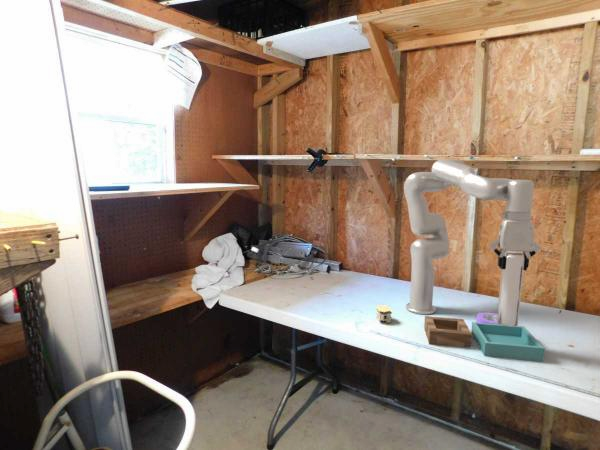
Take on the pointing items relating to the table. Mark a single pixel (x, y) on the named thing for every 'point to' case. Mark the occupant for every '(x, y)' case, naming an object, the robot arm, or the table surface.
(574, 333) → the table surface
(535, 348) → the tray
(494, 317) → the masking tape
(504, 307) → the silver tall rounded column
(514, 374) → the table surface
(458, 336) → the socket block
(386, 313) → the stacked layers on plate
